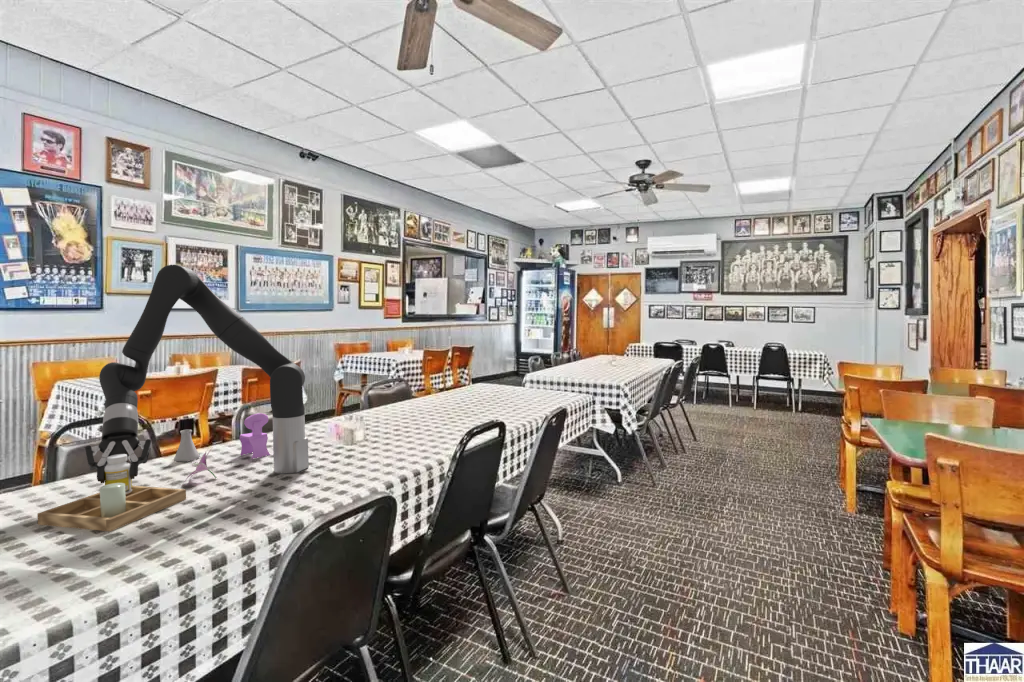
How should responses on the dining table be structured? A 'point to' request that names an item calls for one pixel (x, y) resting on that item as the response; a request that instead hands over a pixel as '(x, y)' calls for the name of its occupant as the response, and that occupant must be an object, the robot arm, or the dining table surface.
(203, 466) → the lily
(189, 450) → the flask
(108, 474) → the supplement bottle
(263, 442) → the toy chair
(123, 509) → the cylinder
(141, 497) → the caddy
